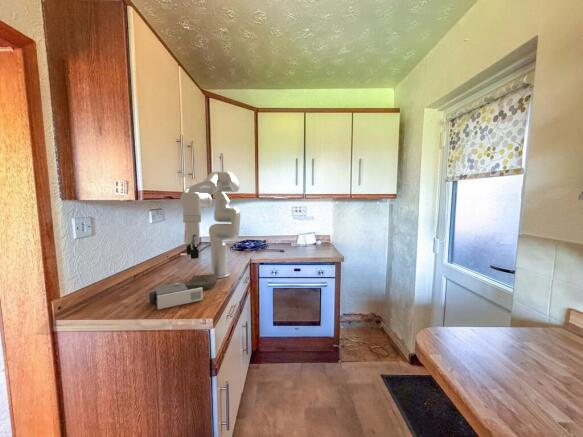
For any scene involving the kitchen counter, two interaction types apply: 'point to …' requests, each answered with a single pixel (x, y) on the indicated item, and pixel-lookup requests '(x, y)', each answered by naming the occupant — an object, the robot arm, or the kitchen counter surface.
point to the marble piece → (201, 282)
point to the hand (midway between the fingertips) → (192, 256)
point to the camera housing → (166, 290)
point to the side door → (179, 298)
